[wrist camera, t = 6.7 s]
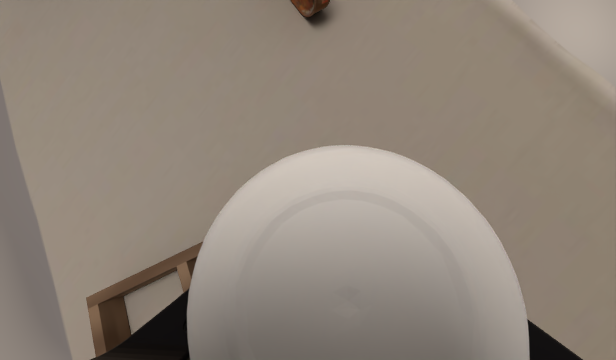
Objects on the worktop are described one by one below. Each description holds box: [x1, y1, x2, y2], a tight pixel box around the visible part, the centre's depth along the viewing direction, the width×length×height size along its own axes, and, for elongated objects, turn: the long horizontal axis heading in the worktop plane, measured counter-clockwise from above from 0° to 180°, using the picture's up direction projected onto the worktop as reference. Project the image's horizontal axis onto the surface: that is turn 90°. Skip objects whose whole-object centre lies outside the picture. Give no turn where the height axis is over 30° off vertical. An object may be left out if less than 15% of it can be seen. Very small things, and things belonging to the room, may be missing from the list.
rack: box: [86, 242, 203, 357], centre depth 20 cm, size 10×28×3 cm, turn 115°
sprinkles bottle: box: [187, 145, 530, 360], centre depth 9 cm, size 5×5×14 cm
